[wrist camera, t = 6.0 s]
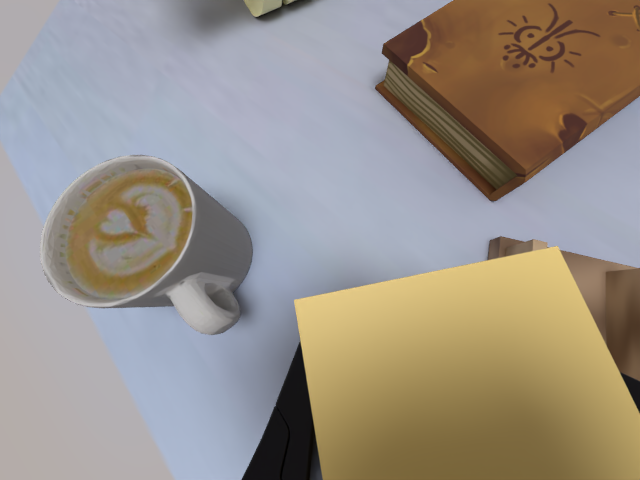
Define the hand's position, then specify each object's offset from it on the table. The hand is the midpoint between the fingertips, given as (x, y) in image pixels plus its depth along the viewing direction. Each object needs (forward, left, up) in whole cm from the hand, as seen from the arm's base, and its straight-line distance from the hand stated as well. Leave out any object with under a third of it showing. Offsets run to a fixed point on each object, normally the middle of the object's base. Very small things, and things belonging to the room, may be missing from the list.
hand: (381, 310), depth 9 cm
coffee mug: (-7, +13, -13) cm, 20 cm away
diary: (+30, +2, -14) cm, 33 cm away
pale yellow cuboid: (-1, -1, -7) cm, 7 cm away
